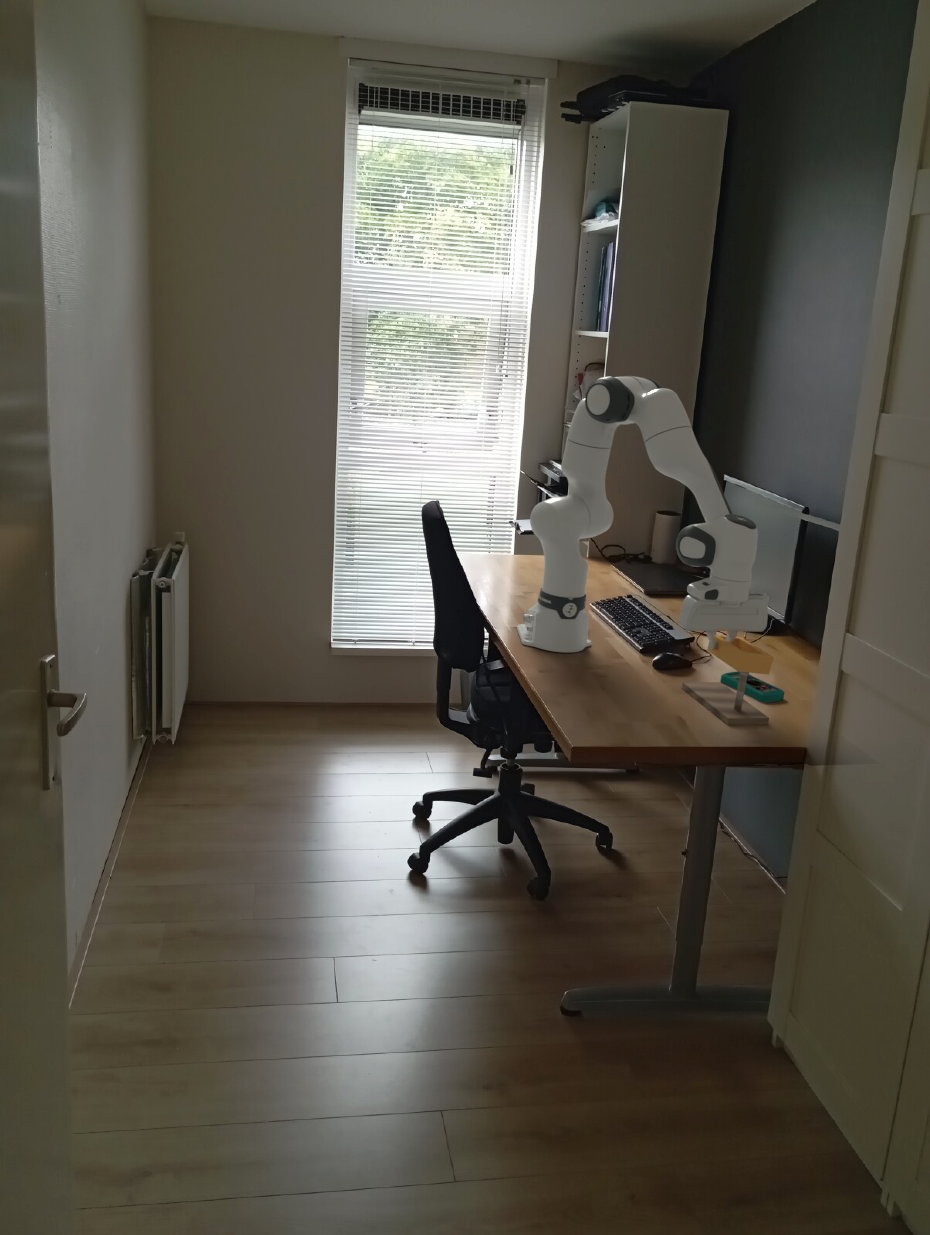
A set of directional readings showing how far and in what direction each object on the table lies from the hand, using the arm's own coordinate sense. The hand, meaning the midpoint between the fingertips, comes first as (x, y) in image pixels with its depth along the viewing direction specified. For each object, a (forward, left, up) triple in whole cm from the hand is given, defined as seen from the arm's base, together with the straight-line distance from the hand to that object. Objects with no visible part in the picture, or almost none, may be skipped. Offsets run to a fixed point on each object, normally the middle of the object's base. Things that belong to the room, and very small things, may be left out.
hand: (718, 649), depth 228 cm
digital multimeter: (-9, +16, -14) cm, 23 cm away
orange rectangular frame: (+3, +3, -2) cm, 5 cm away
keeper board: (+1, +3, -13) cm, 14 cm away
